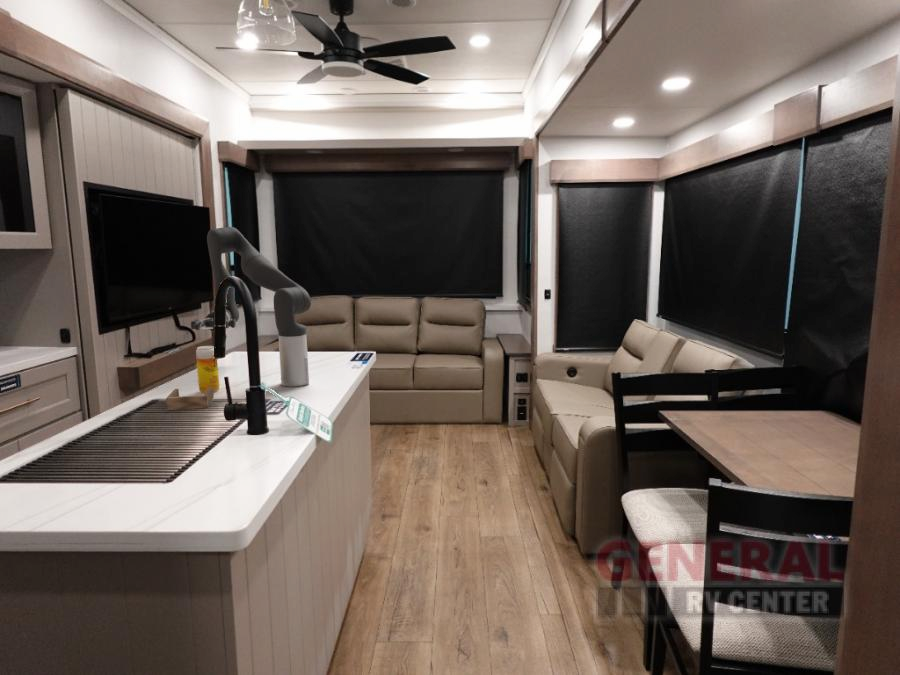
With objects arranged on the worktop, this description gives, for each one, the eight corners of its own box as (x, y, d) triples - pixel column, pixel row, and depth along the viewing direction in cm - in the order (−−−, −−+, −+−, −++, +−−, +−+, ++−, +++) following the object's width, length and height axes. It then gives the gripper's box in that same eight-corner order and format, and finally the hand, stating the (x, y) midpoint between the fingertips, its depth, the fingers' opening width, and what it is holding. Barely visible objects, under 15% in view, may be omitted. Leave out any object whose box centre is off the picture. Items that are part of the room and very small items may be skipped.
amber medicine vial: (214, 394, 177) (211, 348, 174) (196, 394, 177) (192, 348, 174) (222, 389, 183) (219, 345, 180) (204, 389, 183) (201, 345, 180)
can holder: (213, 397, 173) (212, 386, 173) (207, 407, 163) (206, 395, 162) (175, 400, 171) (174, 388, 170) (167, 410, 160) (165, 398, 159)
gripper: (196, 310, 200) (187, 316, 185) (237, 309, 204) (232, 315, 188) (198, 330, 201) (188, 338, 186) (239, 329, 205) (233, 336, 189)
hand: (210, 326), depth 187 cm, fingers open, 8 cm apart
